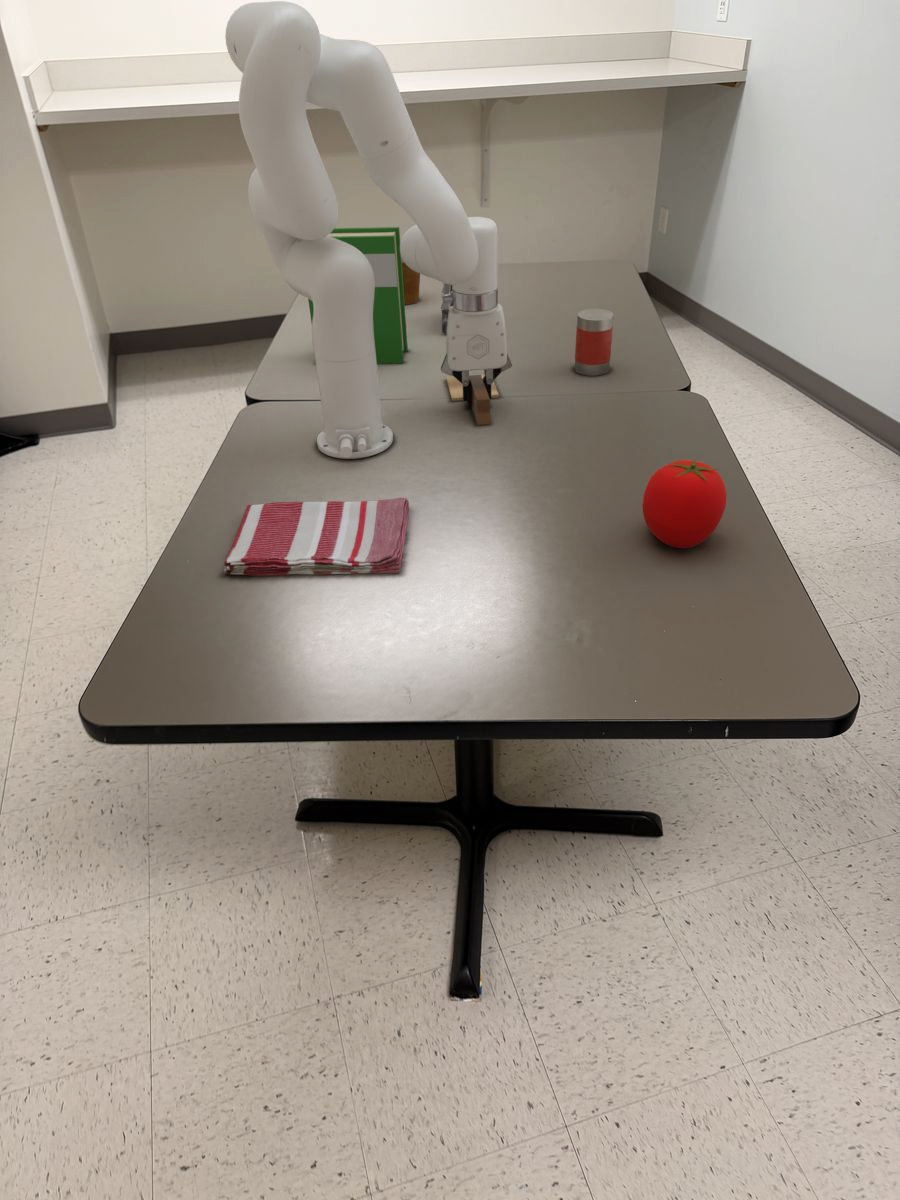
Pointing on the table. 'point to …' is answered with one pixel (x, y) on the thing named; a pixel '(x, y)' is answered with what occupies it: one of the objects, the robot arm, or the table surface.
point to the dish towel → (320, 538)
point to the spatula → (474, 396)
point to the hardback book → (382, 287)
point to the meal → (445, 307)
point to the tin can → (593, 342)
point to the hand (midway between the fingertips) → (477, 403)
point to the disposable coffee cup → (410, 284)
